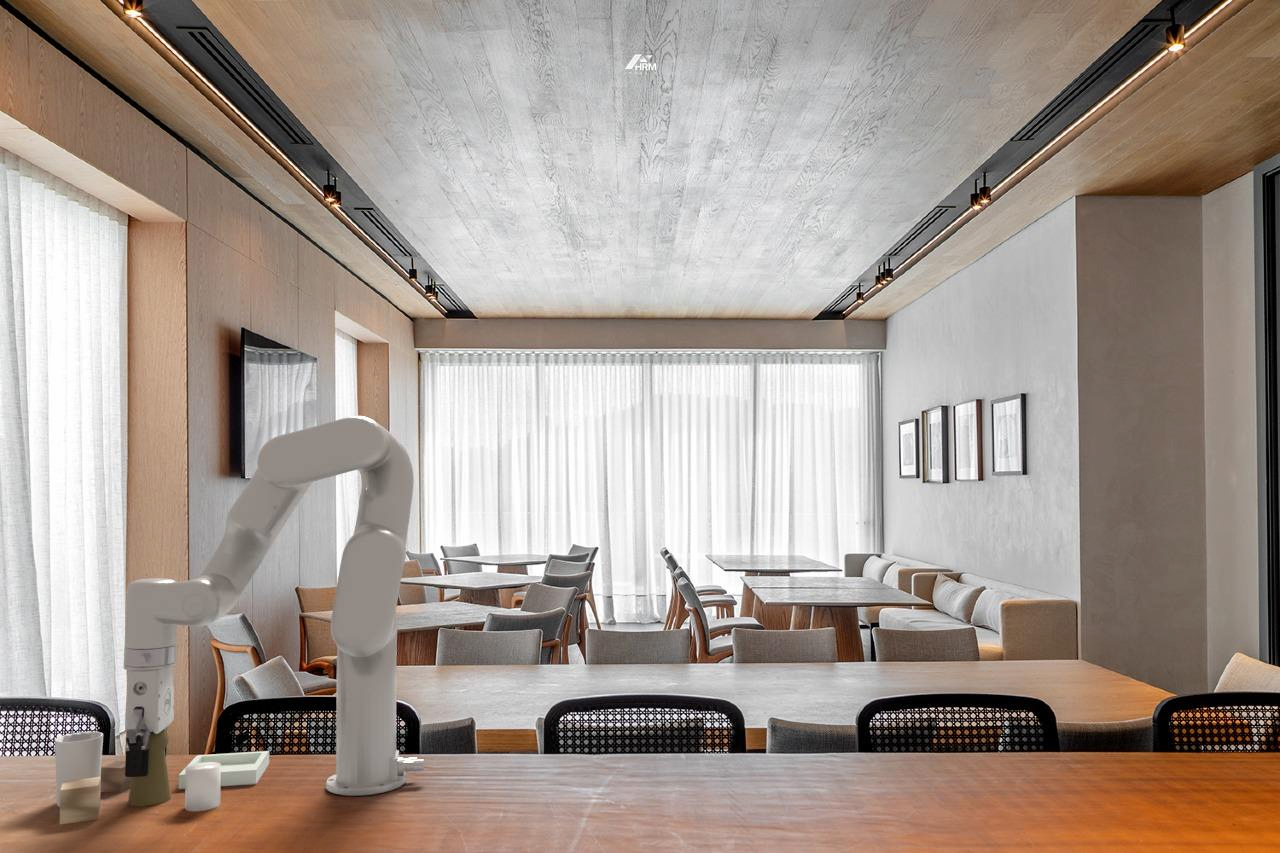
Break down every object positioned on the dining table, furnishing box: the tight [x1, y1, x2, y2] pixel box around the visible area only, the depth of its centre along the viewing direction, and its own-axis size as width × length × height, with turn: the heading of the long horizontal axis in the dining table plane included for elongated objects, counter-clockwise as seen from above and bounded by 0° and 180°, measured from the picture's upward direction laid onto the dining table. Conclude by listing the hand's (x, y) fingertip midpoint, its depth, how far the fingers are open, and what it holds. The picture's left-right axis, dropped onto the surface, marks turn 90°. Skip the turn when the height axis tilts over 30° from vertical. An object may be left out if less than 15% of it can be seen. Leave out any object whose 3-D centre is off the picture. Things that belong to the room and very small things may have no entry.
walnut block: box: [100, 760, 132, 794], centre depth 163 cm, size 4×4×4 cm
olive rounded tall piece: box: [127, 729, 172, 807], centre depth 156 cm, size 6×6×11 cm
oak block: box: [59, 777, 102, 825], centre depth 149 cm, size 5×5×5 cm
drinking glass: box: [54, 731, 104, 808], centre depth 156 cm, size 7×7×10 cm
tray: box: [178, 750, 270, 790], centre depth 169 cm, size 12×12×2 cm
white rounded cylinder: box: [184, 762, 222, 812], centre depth 153 cm, size 5×5×6 cm
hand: (146, 767), depth 156 cm, fingers open, 9 cm apart
